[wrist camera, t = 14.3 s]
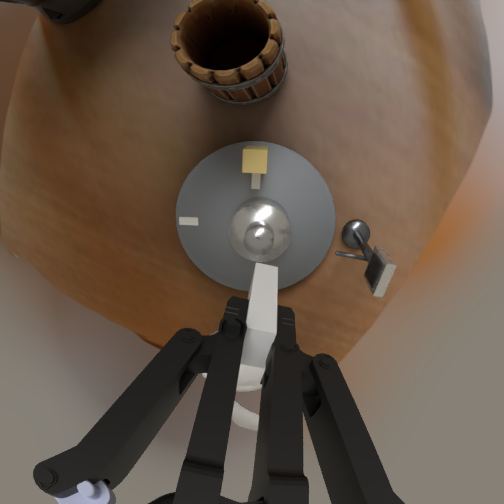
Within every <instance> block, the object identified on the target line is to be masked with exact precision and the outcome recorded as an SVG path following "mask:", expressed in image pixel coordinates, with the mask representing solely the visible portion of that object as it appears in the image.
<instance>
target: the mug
mask: <svg viewBox="0 0 504 504" xmlns="http://www.w3.org/2000/svg"><path fill="white" fill-rule="evenodd" d="M174 28H175V29H176V31H174V32H173V33H172V34H171V41H170V42H171V47H172V50H174V51H175V55H174V56H175V58H176V60H177V62H178V63H179V64H180V65H181V67H182V69H183V70H184V71H185V72H186V73H187V74H188V75H189V76H190V77H192V78H193V79H194V80H195V81H197V82H199V83H201V84H203V86H204V87H205V88H206V89H207V90H208V91H209V92H210V93H211V94H212V95H214V96H215V97H217V98H219V99H220V100H222V101H225V102H228V103H231V104H240V105H247V104H252V103H257V102H259V101H262V100H264V99H266V98H268V97H269V96H271V95H272V94H273V93H275V92H276V91H277V90H278V88H279V87H280V86H281V85H282V83H283V81H284V79H285V76H286V74H287V65H288V62H287V57H286V52H285V49H284V42H285V40H284V34H283V30H282V26H281V23H280V22H279V20H278V19H277V17H276V15H275V13H274V11H273V10H272V8H271V7H270V6H269V5H268V4H266V3H265V2H259V1H258V0H195V1H193V2H192V3H191V4H190V5H189V6H188V11H184V12H182V13H180V14H179V16H178V17H177V19H176V21H175V24H174Z"/></svg>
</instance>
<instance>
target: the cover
mask: <svg viewBox="0 0 504 504" xmlns="http://www.w3.org/2000/svg"><path fill="white" fill-rule="evenodd" d="M228 233H229V240H230V243H231V245H232V247H233V248H234V250H235V251H236V252H237V253H238V254H239V255H241V256H242V257H244V258H246V259H248V260H251V261H255V262H266V261H270V260H273V259H275V258H277V257H279V256H280V255H281V254H282V253H283V252H284V251H285V250H286V249H287V247H288V245H289V242H290V239H291V228H290V221H289V217H288V214H287V212H286V210H285V209H284V208H283V206H282V205H281V204H279V203H278V202H277V201H275V200H273V199H270V198H266V197H255V198H251V199H248V200H246V201H244V202H243V203H242V204H241V205H240V206H239V207H238V208H237V209H236V211H235V213H234V215H233V218H232V220H231V222H230V225H229V231H228Z"/></svg>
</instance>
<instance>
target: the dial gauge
mask: <svg viewBox="0 0 504 504" xmlns="http://www.w3.org/2000/svg"><path fill="white" fill-rule="evenodd" d="M342 237H343V240H344V242H345V243H346V244H347V245H348V246H349V247H352V248H360V249H361V251H362V253H363V254H364V256H361V255H356V254H351V253H346V252H341V251H336V252H335V254H336V255H338V256H343V257H348V258H354V259H359V260H364V261H368V266H367V268H366V271H365V273H364V278H365V280H366V282H367V284H368V286H369V288H370V291H371V293H372V295H373V296H377V297H383V295H384V293H385V291H386V288H387V286H388V284H389V282H390V280H391V277H392V275H393V273H394V271H395V268H396V266H397V265H396V263H395V262H394V261H393V259H392V258H391V256H390V255H389V254H388V252H387V251H386V250H385V248H383V247H379V246H375V247H374V250H373V251H372V249H371V248H370V246H369V245H368V243H367V241H368V240H369V237H370V230H369V227H368V226H367V225H366V223H365V222H363V221H361V220H352V221H349V222H348V223H347V224H346V225H345V226H344V228H343V231H342Z"/></svg>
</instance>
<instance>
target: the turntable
mask: <svg viewBox="0 0 504 504" xmlns="http://www.w3.org/2000/svg"><path fill="white" fill-rule="evenodd" d="M255 197H266V198H270V199H273V200H275V201H277V202H278V203H279V204H281V205H282V206H283V208H284V209H285V210H286V212H287V214H288V217H289V221H290V228H291V239H290V242H289V245H288V247H287V249H286V250H285V251H284V252H283V253H282V254H281V255H280V256H279V257H277V258H275V259H273V260H270V261H266V262H257V263H261V264H266V265H271V266H275V267H278V290H279V289H282V288H285V287H288V286H290V285H293V284H295V283H297V282H299V281H300V280H302V279H303V278H305V277H306V276H307V275H309V274H310V273H311V272H312V271H313V270H314V269H315V268H316V267H317V266H318V265H319V264H320V263H321V261H322V260H323V259H324V257H325V255H326V254H327V252H328V250H329V248H330V245H331V243H332V240H333V236H334V232H335V223H336V216H335V207H334V202H333V198H332V195H331V193H330V190H329V188H328V186H327V184H326V182H325V180H324V179H323V178H322V176H321V175H320V173H319V172H318V171H317V170H316V169H315V167H314V166H313V165H312V164H311V163H310V162H309V161H308V160H306V159H305V158H304V157H302V156H301V155H300V154H298V153H296V152H295V151H293V150H291V149H289V148H287V147H284V146H282V145H279V144H275V143H271V142H265V141H245V142H239V143H234V144H231V145H228V146H225V147H223V148H221V149H219V150H217V151H215V152H213V153H211V154H210V155H208V156H207V157H205V158H204V159H203V160H202V161H201V162H199V163H198V164H197V165H196V166H195V167H194V168H193V170H192V171H191V172H190V173H189V175H188V176H187V178H186V179H185V181H184V183H183V185H182V187H181V190H180V192H179V196H178V199H177V204H176V226H177V232H178V235H179V239H180V241H181V244H182V246H183V248H184V250H185V252H186V253H187V255H188V257H189V258H190V259H191V261H192V262H193V263H194V264H195V265H196V266H197V267H198V268H199V269H200V270H201V271H202V272H203V273H204V274H206V275H207V276H208V277H210V278H211V279H213V280H214V281H216V282H218V283H220V284H222V285H224V286H227V287H230V288H232V289H236V290H241V291H247V292H249V290H250V286H251V282H252V277H253V273H254V269H255V265H256V262H255V261H251V260H248V259H246V258H244V257H242V256H241V255H239V254H238V253H237V252H236V251H235V250H234V248H233V247H232V245H231V243H230V240H229V233H228V231H229V225H230V222H231V220H232V218H233V215H234V213H235V211H236V209H237V208H238V207H239V206H240V205H241V204H242V203H243V202H244V201H246V200H248V199H251V198H255Z"/></svg>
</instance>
